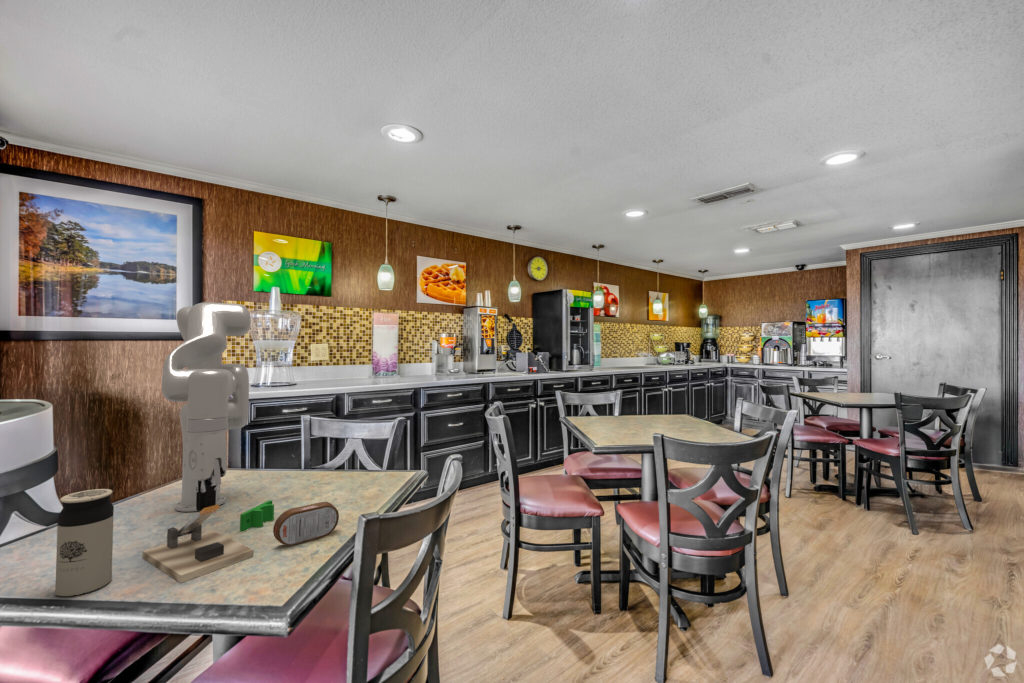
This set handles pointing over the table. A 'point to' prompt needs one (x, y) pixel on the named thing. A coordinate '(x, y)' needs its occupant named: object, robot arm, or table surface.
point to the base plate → (187, 554)
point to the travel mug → (84, 542)
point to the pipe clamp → (257, 516)
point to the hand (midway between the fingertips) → (205, 509)
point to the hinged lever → (197, 520)
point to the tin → (305, 523)
